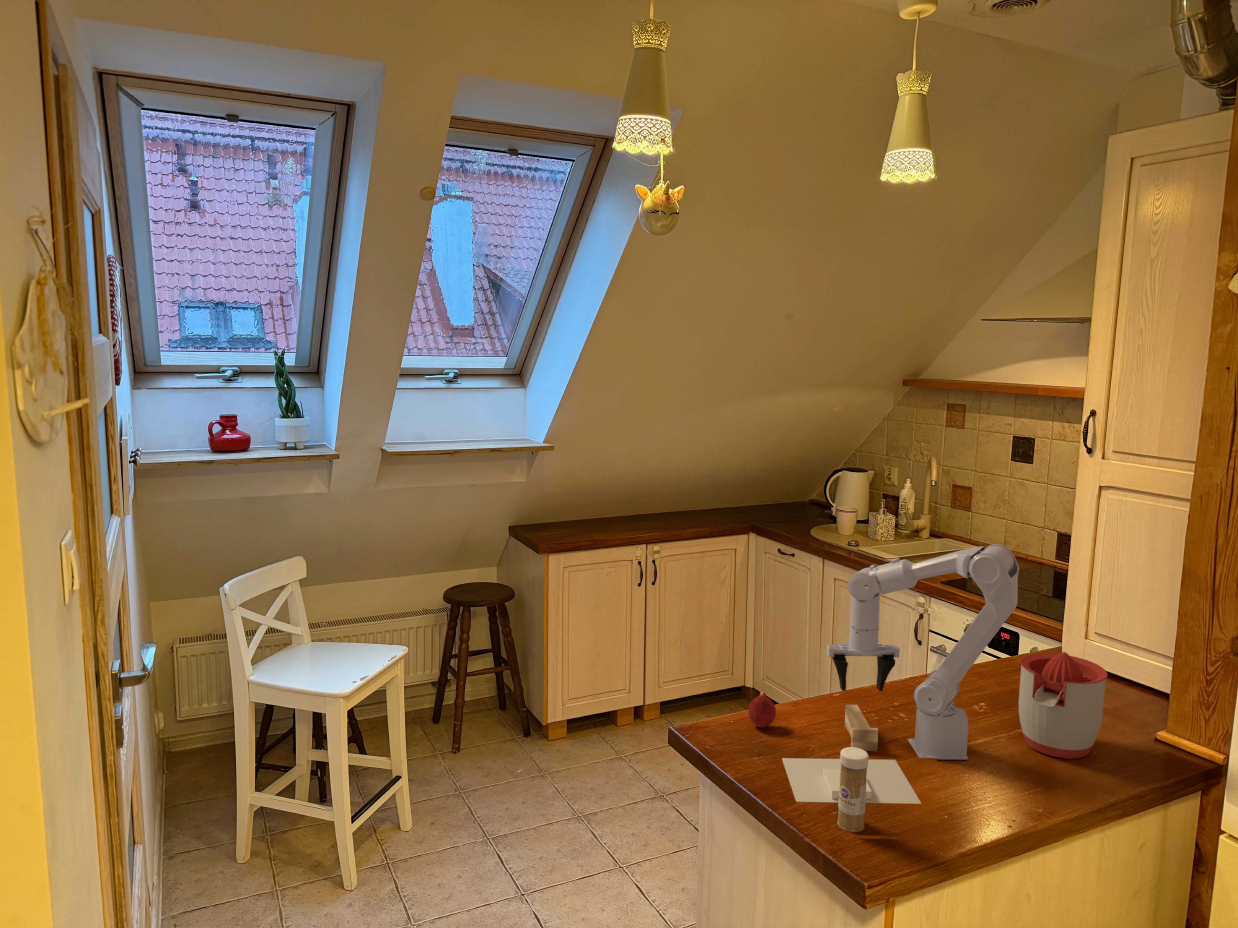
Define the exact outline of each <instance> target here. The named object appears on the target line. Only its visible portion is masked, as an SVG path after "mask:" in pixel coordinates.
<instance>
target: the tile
mask: <svg viewBox="0 0 1238 928" xmlns="http://www.w3.org/2000/svg"><path fill="white" fill-rule="evenodd" d="M840 772H841V769H823V778H824V781H825V783H826V786H827V788H828V791H829V793H830V795H831V798H832V799H839V789H840ZM871 798H872V791H871V789H870V787H869V785H868V783H867V781H866V799H871Z"/></svg>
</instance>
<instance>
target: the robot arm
mask: <svg viewBox="0 0 1238 928" xmlns="http://www.w3.org/2000/svg"><path fill="white" fill-rule="evenodd" d="M982 549H983V550H982ZM981 550H982V551H981ZM1019 572H1020V566H1019V564H1018V561H1017V559H1016V556H1015V555H1014V553H1013V551H1012V550H1011V549H1010V548H1009V547H1007V546H1005V545H1004V544H1000V543H994V544H989V545H987V546H986V547H985V548H984V545H983V546H974V547H970V548H965V549H960V550H957V551H953V552H950V553H947V554H943V555H940V556H935V557H932V558H928V559H925V560H922V561H919V562H916V563H914V562H912V561H910V560H908V559H900V557H896V558H892V559H891V561H890V562H889V563H884V564H881V565H877V564H872V565H870V566H869V567H865V568H862V569H860V570H859V571H857V572H855V573H854V574H852V575H851V576H850V577H849V579H848V581H847V589H848V592H849V594H850V595H851V596H850V597H851V598H850V600H851V601H850V613H849V614H850V617H849V634H848V635H849V636H848V637H849V638H848V639H849V640H848V642H846V643H845V642H844V643H838V644H827V645H826V655H827V657H828V658H831V660H832V661H833V664H834V666H835V668H836V673H837V676H838V681H839V688H840V690H841V691H842V692H846V690H847V673H848V667H849V662H848V661H847V658H846V657H876V659H877V660H876V663H877V673H876V674H877V675H876V688H877V690H878V691H879V692H883V690H884V687H885V685H886V681H887V680H888V679H887V678H888V676H889V674H890V672H892V670H893V668H894V667H895V665H896V659H897V658H900V652H901V651H900V650H901V648H899V646H898V645H897V644H895V645H894V644H893V645H891V644H882V643H879V630H880V629H879V626H880V625H879V624H880V608H881V605H880V602H881V601H880V600H881V599H880V598H881V595H887V594H891V593H895V592H898V591H903V590H907V589H912V588H914V587H915V586H916V585H917V583H918V580H921V579H922V580H923V579H926V578H927V579H929V578H933V577H937V576H942V575H947V574H948V575H949V574H952V573H956V574H958V575H960V576H961V577H964V578H965V579H969V578H970V577H971V579H972V580H973V582H974V583H975V584H976V585H977V587H978V588H979V589H980V591H981V592H982V595H983V599H984V600H985V605H983V607H982V608H981V609H980V611H979V613H978V614H977V615H976V617H975V618H974V620H972V622H971V623H970V625H968V628H967V629H966V630H965V632H964V633H963V634H962V636H961V637H960V638H959V640H958V641H957V643H955V644H954V647H953V648H952V649H951V651H950V652H949V653H948V654H947V655H946V657H945V659H944V660H943V661H942V663H941V664H940V666H939V667H938V668H937V669H934V670H933V671H931V672H930V673H929V674H928V675H927V677H926V678H925V679H924V680H923V682H922V683H921V684H919V685H918V686H917V687H916V688H915V689H914V693H913V699H914V702H915V704H916V711H915V712H916V714H915V732H914V738H908V739H907V741H908V742H909V744H910V746H911V747H912V749H913V750H914V752H915V754H916V755H917V756H918V757H919V758H920V759H934V760H956V761H957V760H960V761H961V760H963V761H965V760H966V761H968V759H969V757H968V755H967V754H968V753H967V752H968V742H969V741H968V739H969V720H968V716H967V712H965V709H963V708H961V707H956V706H955V703H954V700H953V699H954V698H956V697H957V695H958V693H959V691H960V685H961V681H962V680H963V678H964V677H965V675H966V674H967V673H968V672H969V670H970V669H971V667H972V666H973V664H974V663H975V662H976V661H977V660H978V658H979V657H980V655H981V654H982V653H983V651H984V650H985V649H986V648H987V647H988V645H989V644H990V642H991V641H992V639H993V638H994V637H995V636H996V634H997V633H998V632H999V630H1000V629H1001V627H1002V626H1004V624H1005V622H1007V620H1008V618H1009V617H1010V615H1011V614H1012V613H1013V612H1014V610H1015V609H1016V608H1017V605H1018V602H1019V601H1018V599H1019V598H1018V597H1019V596H1018V595H1019V591H1018V586H1019V584H1018V582H1019V580H1018V578H1019ZM895 658H896V659H895Z"/></svg>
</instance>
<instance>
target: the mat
mask: <svg viewBox="0 0 1238 928" xmlns="http://www.w3.org/2000/svg"><path fill="white" fill-rule="evenodd" d="M781 760H782V764H783V767H784V769H785V772H786V775H787V778H788V782H789V784H790V787H791V792H792V794H793V796H794V799H795V802H796V803H837V804H838V802H839V799H832V798H831V795H830V793H829V791H828V788H827V786H826V783H825V781H824V778H823V769H841V763H840V758H803V757H802V758H793V757H792V758H790V757H782V758H781ZM866 776H867V777H866V781H867V783H868V785H869V787H870V789H871V791H872V798H871V799H866V802H865V804H900V805H901V804H904V805H905V804H906V805H907V804H911V805H912V804H913V805H922V802H921V800H920V799H919V797H918V795H917V794H916V792H915V791H914V789H913V787H912V785H911V783H910V782H909V780H908V779H907V777H906V775H905V774H904V772H903V770H902V769H901V767H900V765H899V763H898V762H897V760H896V759H869V758H868V767H867V775H866Z"/></svg>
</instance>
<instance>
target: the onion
mask: <svg viewBox="0 0 1238 928" xmlns="http://www.w3.org/2000/svg"><path fill="white" fill-rule="evenodd" d="M776 710H777V709H776V706H775V703H774V702H773V700H772V699H770V698H769V697H768V696H767V695H766V692H765V691H760V693H759V695H758V696H756V697H754V698H753V699H752V700H751V702H750V703H749V706H748V711H747V714H748V717H749V719H750V721H751V722H752V724H753V725H755V727H758V728H760V729H764V728H766V727H768V726H770V725H771V724H772V723H773V722H774V721H775V720H776V717H777V711H776Z"/></svg>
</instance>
